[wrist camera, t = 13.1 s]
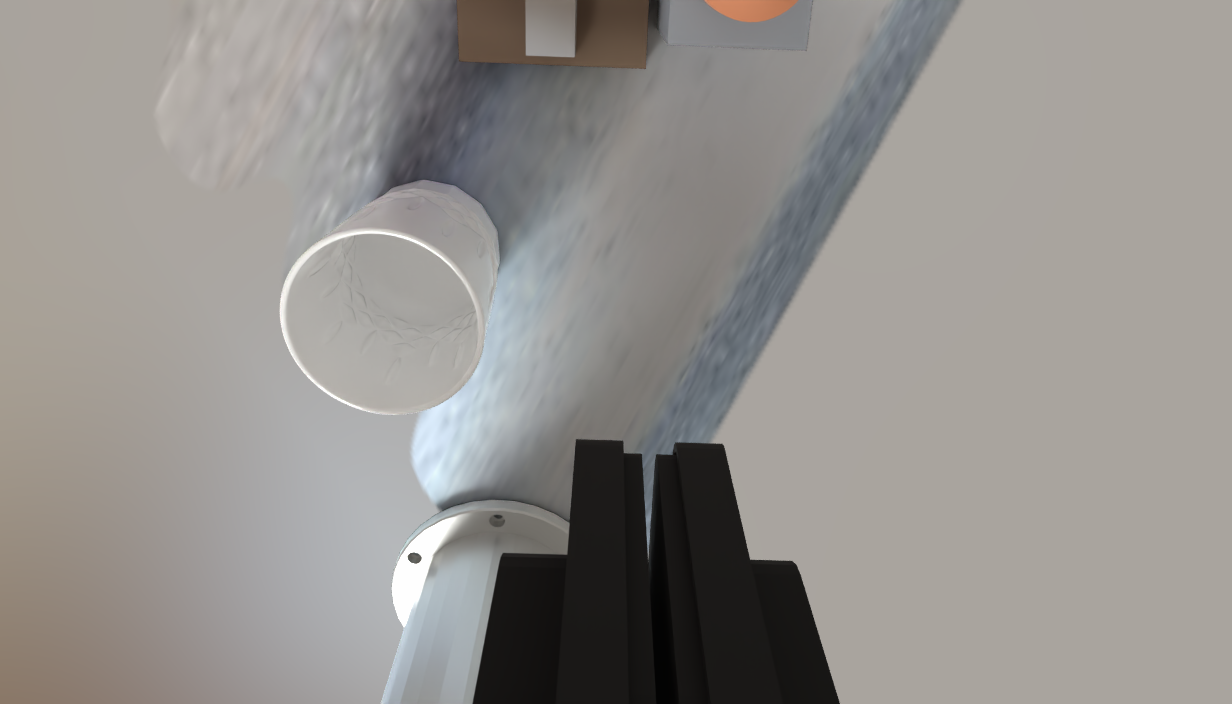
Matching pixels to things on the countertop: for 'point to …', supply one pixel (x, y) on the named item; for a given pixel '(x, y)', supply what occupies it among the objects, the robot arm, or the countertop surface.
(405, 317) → the white cup
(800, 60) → the countertop surface
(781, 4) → the button
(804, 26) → the cabinet
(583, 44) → the rail board
